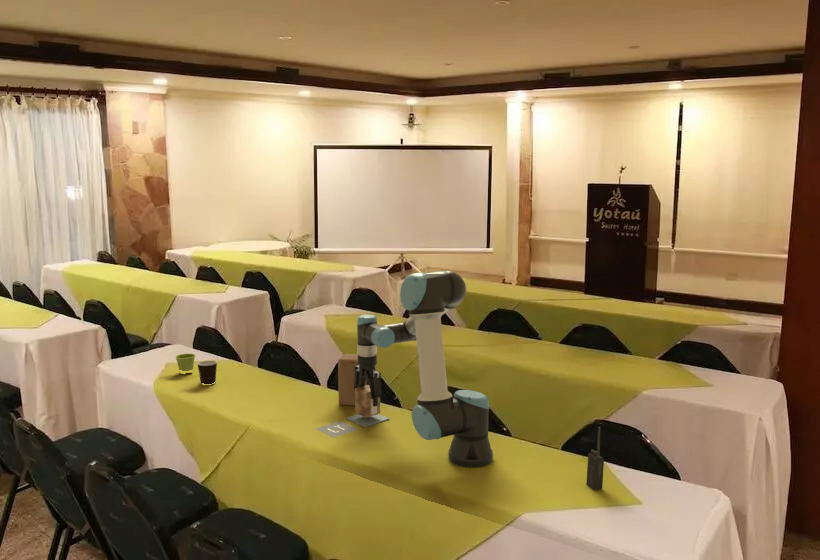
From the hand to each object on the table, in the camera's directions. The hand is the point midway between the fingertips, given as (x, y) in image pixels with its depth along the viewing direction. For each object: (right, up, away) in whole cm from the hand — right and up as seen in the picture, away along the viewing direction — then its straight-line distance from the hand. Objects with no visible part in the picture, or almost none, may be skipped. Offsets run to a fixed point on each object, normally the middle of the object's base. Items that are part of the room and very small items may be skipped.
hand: (367, 410), depth 262 cm
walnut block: (0, -1, 0) cm, 1 cm away
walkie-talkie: (+74, -13, -56) cm, 93 cm away
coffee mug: (-76, +4, +47) cm, 90 cm away
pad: (0, -4, +1) cm, 4 cm away
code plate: (-11, -5, -9) cm, 15 cm away
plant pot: (-92, +6, +62) cm, 111 cm away
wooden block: (-8, -1, +21) cm, 22 cm away
